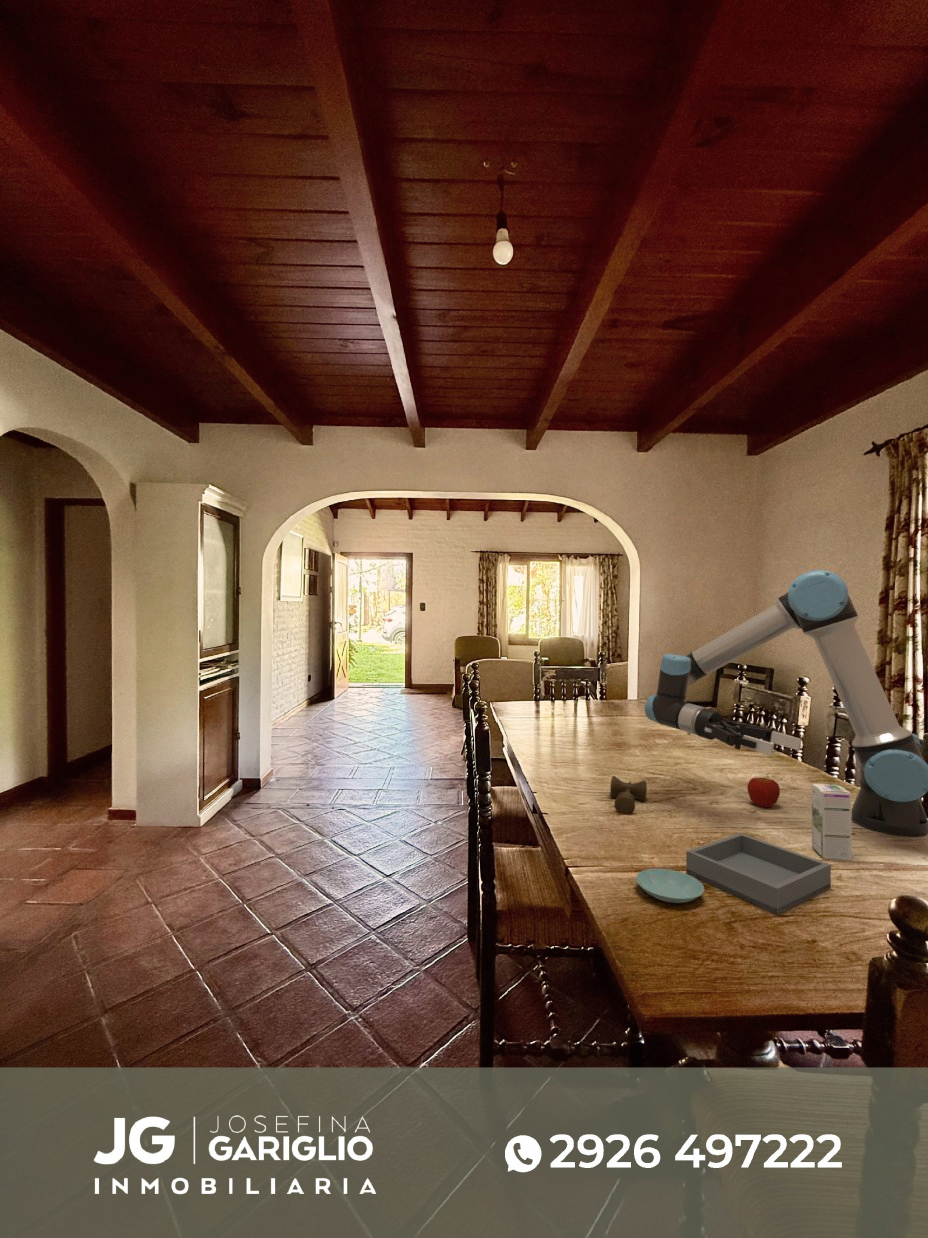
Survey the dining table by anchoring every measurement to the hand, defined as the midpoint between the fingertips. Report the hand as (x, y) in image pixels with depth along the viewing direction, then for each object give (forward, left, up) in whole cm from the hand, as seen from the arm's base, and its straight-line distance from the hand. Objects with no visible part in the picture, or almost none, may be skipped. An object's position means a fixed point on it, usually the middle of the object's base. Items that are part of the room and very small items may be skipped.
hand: (786, 747), depth 128 cm
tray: (+12, +24, -21) cm, 34 cm away
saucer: (+29, +33, -22) cm, 49 cm away
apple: (-2, -24, -21) cm, 32 cm away
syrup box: (-7, +7, -21) cm, 23 cm away
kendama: (+34, -18, -22) cm, 44 cm away
